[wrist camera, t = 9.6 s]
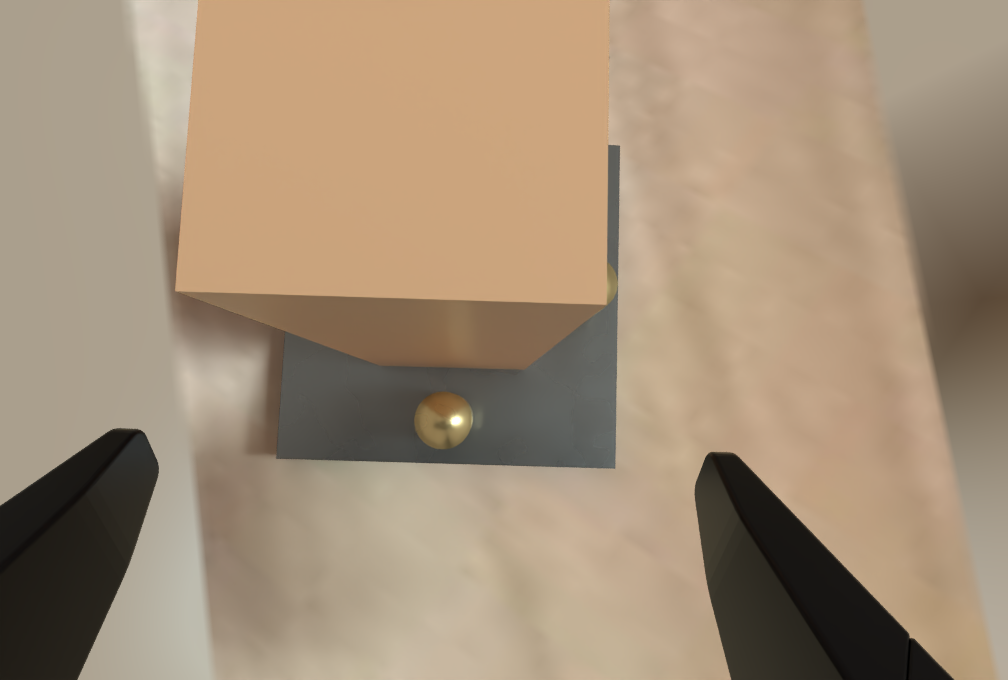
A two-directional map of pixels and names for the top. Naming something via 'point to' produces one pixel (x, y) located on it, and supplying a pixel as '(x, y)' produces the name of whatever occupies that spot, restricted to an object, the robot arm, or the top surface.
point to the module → (401, 174)
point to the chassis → (462, 398)
